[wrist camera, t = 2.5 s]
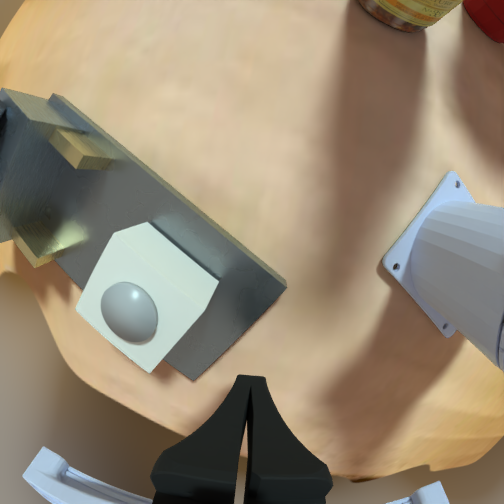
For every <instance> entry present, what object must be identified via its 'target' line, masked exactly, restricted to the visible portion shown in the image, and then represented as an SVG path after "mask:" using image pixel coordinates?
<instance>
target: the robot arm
mask: <svg viewBox="0 0 504 504" xmlns="http://www.w3.org/2000/svg"><path fill="white" fill-rule="evenodd" d="M455 182H456V183H457V187H456V186H455ZM382 263H383V266H384V267H385V268H386V269H387V270H388V271H389V273H390V274H391V275H392V276H393V277H394V278H395V279H396V280H397V281H398V282H399V283H400V285H401V286H402V287H403V288H404V289H405V290H406V291H407V292H408V293H409V295H410V296H411V297H412V298H413V299H414V300H415V301H416V303H417V304H418V305H419V306H420V307H421V308H422V310H423V311H424V312H425V313H426V314H427V316H428V317H429V318H430V319H431V320H432V322H433V323H434V324H435V325H436V326H437V328H438V329H439V330H440V331H441V333H442V334H443V335H444V336H445V337H446V338H449V337H451V336H452V335H453V334H454V333H455V331H456V330H458V331H459V332H460V333H461V334H462V335H463V336H465V337H466V338H467V339H468V340H469V341H470V342H471V343H472V344H473V345H474V346H475V347H476V348H478V349H479V350H480V351H481V352H482V353H483V354H484V355H485V356H486V357H487V358H488V359H489V360H490V361H491V362H492V363H493V364H494V365H495V366H497V367H498V368H500V369H501V370H502V371H503V372H504V208H502V207H496V206H490V205H484V204H478V203H475V201H474V200H473V198H472V196H471V195H470V193H469V191H468V190H467V188H466V187H465V185H464V184H463V182H462V181H461V179H460V178H459V176H458V175H457V173H456V172H454V171H448V172H447V173H446V175H445V176H444V178H443V179H442V181H441V182H440V184H439V185H438V187H437V188H436V189H435V191H434V192H433V194H432V195H431V197H430V198H429V199H428V201H427V202H426V203H425V205H424V206H423V208H422V209H421V210H420V212H419V213H418V214H417V216H416V217H415V218H414V220H413V221H412V222H411V223H410V225H409V226H408V227H407V229H406V230H405V231H404V232H403V234H402V235H401V236H400V237H399V239H398V240H397V241H396V242H395V244H394V245H393V246H392V247H391V248H390V250H389V251H388V252H387V253H386V254H385V256H384V257H383V260H382ZM396 263H397V268H396V269H395V270H393V266H394V264H396ZM444 324H445V325H444ZM443 325H444V326H443ZM246 422H247V440H248V461H247V472H246V483H245V493H244V503H243V504H326V500H325V496H326V495H327V494H328V492H329V491H330V490H331V488H332V486H333V481H332V477H331V474H330V472H329V469H328V467H327V465H326V464H325V463H323V462H322V461H321V460H319V459H318V458H317V457H316V456H314V455H313V454H312V453H311V452H310V451H309V450H308V449H307V448H306V447H305V446H304V445H303V444H302V443H301V442H300V441H299V440H298V439H297V438H296V437H295V436H294V434H293V433H292V432H291V430H290V429H289V428H288V426H287V425H286V423H285V422H284V420H283V419H282V417H281V415H280V414H279V412H278V410H277V408H276V406H275V404H274V402H273V400H272V397H271V395H270V392H269V390H268V387H267V383H266V378H265V377H263V376H250V375H240V374H239V375H238V376H237V378H236V380H235V383H234V385H233V387H232V389H231V390H230V392H229V394H228V395H227V397H226V398H225V400H224V401H223V403H222V404H221V405H220V406H219V408H218V409H217V410H216V411H215V413H214V414H213V415H212V416H211V417H210V418H209V419H208V420H207V421H206V422H205V423H204V424H203V425H202V426H201V427H199V428H198V429H197V430H196V431H195V432H193V433H192V434H191V435H189V436H188V437H186V438H185V439H184V440H182V441H181V442H179V443H177V444H176V445H174V446H172V447H170V448H168V449H166V450H164V451H163V453H162V454H161V455H160V456H159V458H158V460H157V461H156V463H155V465H154V467H153V470H152V472H151V475H150V478H151V481H152V483H153V485H154V487H155V489H156V493H155V496H154V499H153V500H151V499H148V498H144V497H141V496H138V495H135V494H132V493H129V492H127V491H124V490H121V489H118V488H116V487H113V486H111V485H108V484H106V483H104V482H101V481H99V480H97V479H94V478H92V477H90V476H88V475H86V474H83V473H81V472H80V471H78V470H76V469H74V468H72V467H70V466H69V465H68V463H67V462H66V460H65V459H63V458H62V457H61V456H60V455H58V454H56V453H54V452H53V451H51V450H49V449H48V448H46V447H42V449H41V450H40V451H39V453H38V454H37V456H36V457H35V458H34V460H33V461H32V463H31V464H30V466H29V467H28V468H27V470H26V471H25V473H24V474H23V478H24V479H25V480H26V481H27V482H28V483H29V484H30V485H31V486H32V487H33V488H34V489H35V490H37V492H38V493H40V494H41V495H42V496H43V497H44V498H45V499H46V500H48V501H50V502H51V503H53V504H234V497H235V489H236V480H237V471H238V461H239V455H240V450H241V445H242V440H243V436H244V431H245V426H246ZM385 504H449V501H448V499H447V496H446V494H445V492H444V490H443V487H442V485H441V483H440V481H437V482H435V483H432V484H430V485H427V486H424V487H422V488H420V489H418V490H416V491H415V492H414V493H413V494H412V495H411V496H409V497H406V498H403V499H399V500H396V501H393V502H389V503H385Z"/></svg>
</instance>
